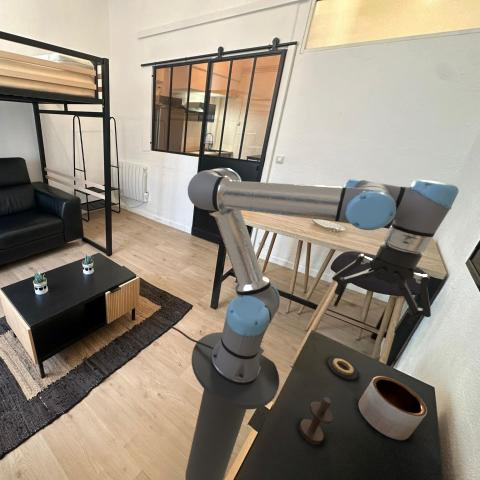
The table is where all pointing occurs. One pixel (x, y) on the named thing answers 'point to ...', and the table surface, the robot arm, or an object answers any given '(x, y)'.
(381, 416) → the planter
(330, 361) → the rubber pad
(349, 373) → the brass ring
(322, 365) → the table surface
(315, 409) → the brown wooden peg stand
